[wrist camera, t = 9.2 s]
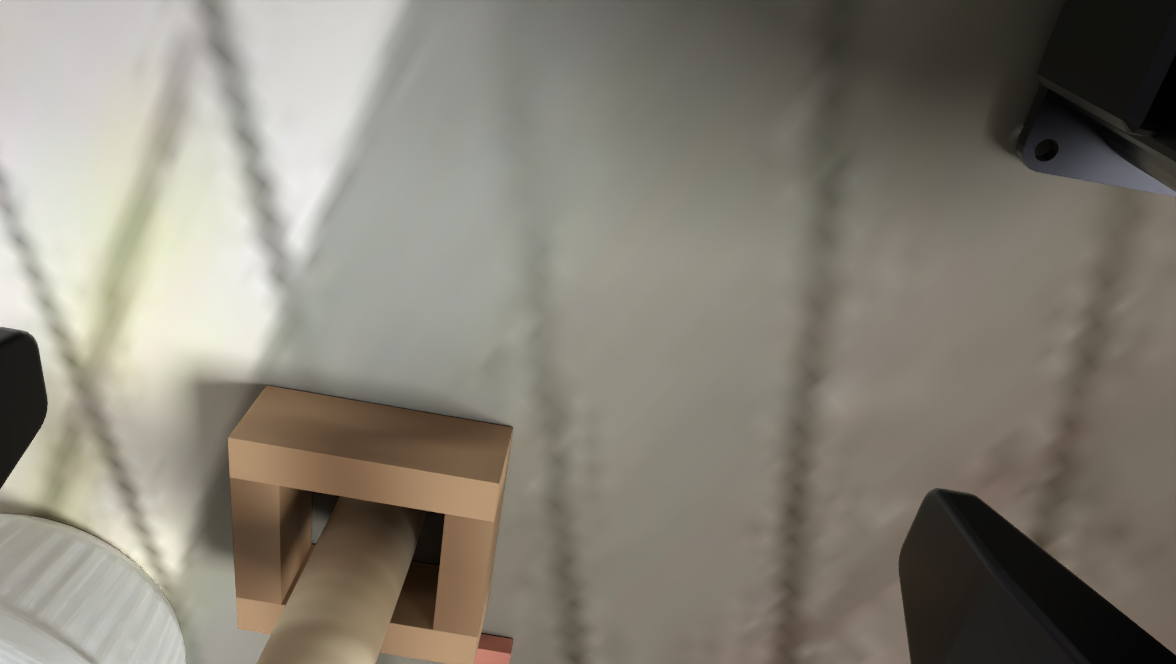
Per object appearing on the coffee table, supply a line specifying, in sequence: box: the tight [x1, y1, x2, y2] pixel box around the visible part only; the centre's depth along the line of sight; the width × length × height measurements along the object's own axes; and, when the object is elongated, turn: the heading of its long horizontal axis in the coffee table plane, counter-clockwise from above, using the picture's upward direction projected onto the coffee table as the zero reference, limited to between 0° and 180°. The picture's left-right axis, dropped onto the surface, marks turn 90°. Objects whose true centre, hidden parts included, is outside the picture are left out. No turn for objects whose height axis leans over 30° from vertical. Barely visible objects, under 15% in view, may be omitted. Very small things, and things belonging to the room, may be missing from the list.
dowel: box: [257, 496, 428, 664], centre depth 21 cm, size 3×3×12 cm
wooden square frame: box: [228, 385, 513, 664], centre depth 25 cm, size 8×9×2 cm
